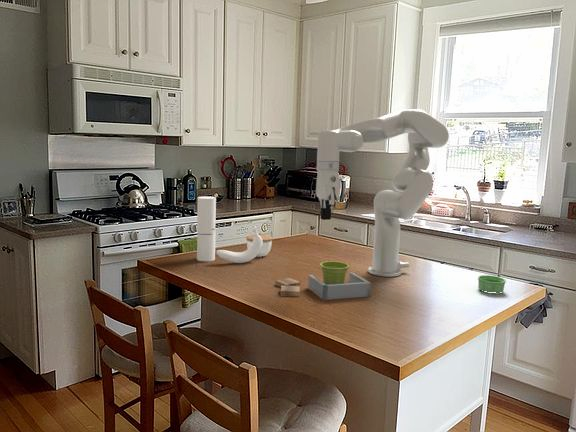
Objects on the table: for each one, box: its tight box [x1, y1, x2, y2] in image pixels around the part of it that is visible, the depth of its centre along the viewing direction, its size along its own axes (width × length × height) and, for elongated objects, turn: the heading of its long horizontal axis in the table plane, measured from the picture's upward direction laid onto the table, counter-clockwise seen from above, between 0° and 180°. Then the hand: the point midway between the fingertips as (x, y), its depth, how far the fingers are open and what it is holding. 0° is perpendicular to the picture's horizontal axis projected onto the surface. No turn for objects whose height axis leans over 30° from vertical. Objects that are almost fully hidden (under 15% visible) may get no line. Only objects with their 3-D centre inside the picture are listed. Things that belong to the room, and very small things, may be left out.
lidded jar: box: [246, 232, 273, 258], centre depth 218 cm, size 11×11×9 cm
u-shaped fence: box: [307, 271, 372, 301], centre depth 171 cm, size 16×13×4 cm
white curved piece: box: [215, 224, 263, 264], centre depth 204 cm, size 5×19×15 cm, turn 120°
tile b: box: [280, 285, 301, 297], centre depth 168 cm, size 6×6×2 cm
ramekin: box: [477, 274, 507, 293], centre depth 179 cm, size 9×9×4 cm
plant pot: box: [320, 260, 350, 285], centre depth 173 cm, size 9×9×9 cm
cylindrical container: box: [196, 195, 217, 262], centre depth 207 cm, size 7×7×25 cm
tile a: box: [274, 277, 301, 288], centre depth 176 cm, size 6×6×2 cm
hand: (325, 219), depth 181 cm, fingers closed
